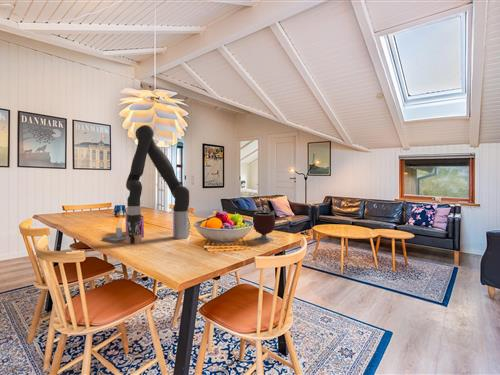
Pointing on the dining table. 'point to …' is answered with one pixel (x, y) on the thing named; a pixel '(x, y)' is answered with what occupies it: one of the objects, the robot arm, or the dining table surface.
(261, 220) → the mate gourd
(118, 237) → the board
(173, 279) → the dining table surface
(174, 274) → the dining table surface
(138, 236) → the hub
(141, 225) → the gum box
